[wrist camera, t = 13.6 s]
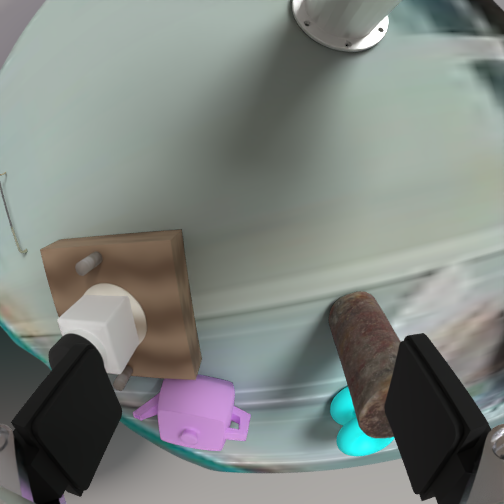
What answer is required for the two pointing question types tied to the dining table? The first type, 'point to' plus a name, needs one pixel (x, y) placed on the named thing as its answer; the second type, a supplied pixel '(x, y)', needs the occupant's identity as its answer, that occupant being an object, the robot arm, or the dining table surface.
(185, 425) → the teapot
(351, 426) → the donuts
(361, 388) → the brown rusty cylinder
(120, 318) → the medicine bottle
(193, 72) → the dining table surface
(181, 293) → the stand
